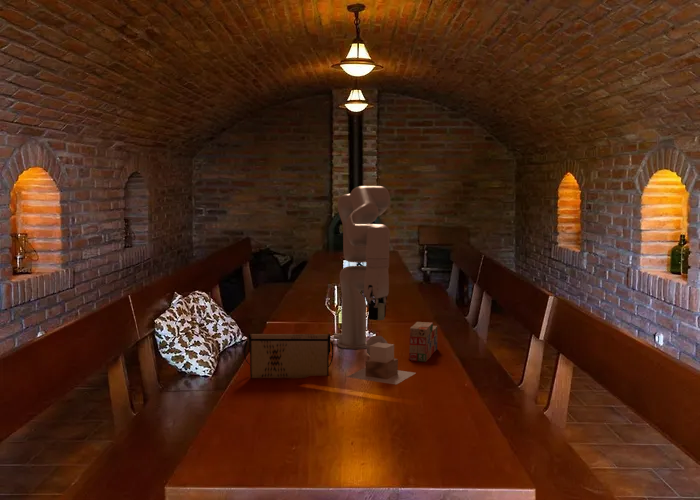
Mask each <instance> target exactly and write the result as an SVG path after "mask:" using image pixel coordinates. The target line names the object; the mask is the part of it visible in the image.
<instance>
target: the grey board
mask: <svg viewBox="0 0 700 500" xmlns="http://www.w3.org/2000/svg"><path fill="white" fill-rule="evenodd" d="M365 371H366V366H365V367H363V368H360V369H358V370H357V371H355V372H353V373H351V374H350V375H347V376H346V378H350V379H351V378H352V379H357V380H363V381H364V380H365V381H370V382H375V383H376V382H377V383H382V384H389V385H398V384H401V383H402V382H403V381H405V380H407V379H409V378H410V377H412V376H414V375H415V374H417V372H413V371H405V370H399V369H398V374H396V375H394V376H393V377H391V378H389V379H382V378H375V377H369V376H365Z"/></svg>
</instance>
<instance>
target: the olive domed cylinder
mask: <svg viewBox="0 0 700 500" xmlns="http://www.w3.org/2000/svg"><path fill="white" fill-rule="evenodd" d="M377 308H378V319H377V320H376V321H384V320H385V318H386V316H385V304H384V303H377ZM369 320H371V321H373V320H372V319H369Z"/></svg>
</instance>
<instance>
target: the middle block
mask: <svg viewBox="0 0 700 500" xmlns="http://www.w3.org/2000/svg"><path fill="white" fill-rule="evenodd" d="M394 358H395V344H394V343H393V344H392V343H388V342H387V343H379V342H378V343H375V344H373V345H371V346H370V355H369V359H370V361H374V362H382V363H388V362H390V361H391V360H393V359H394Z"/></svg>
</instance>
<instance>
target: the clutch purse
mask: <svg viewBox="0 0 700 500" xmlns="http://www.w3.org/2000/svg"><path fill="white" fill-rule="evenodd" d="M334 342H335V339H334V338H332V337H331V333H322V334H321V333H315V334H314V333H276V334H275V333H268V334H267V333H249V334H248V338H245V343H244V345H243V346H244V347H243V356H244V360H245V362H246V363H247V364H248V365H249V366H250V369H249V370H250V371H249V374H250V375H249V376H250V379H306V378H308V377H311V376H312V377H313V376H316V377H318V376H321V377H322V376H326V377H329V367H330V366H331V364H332V362H333V359H334V344H333V343H334ZM247 346H248V351H249V355H250V356H249V357H250V358H249V361H250V362H248V359H247V356H246V350H247V349H246V348H247ZM330 353H331V358H330V359H331V360H330V361H329V357H330Z"/></svg>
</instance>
